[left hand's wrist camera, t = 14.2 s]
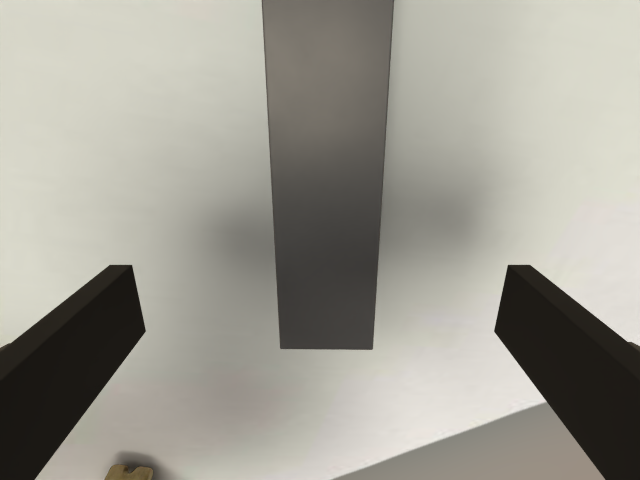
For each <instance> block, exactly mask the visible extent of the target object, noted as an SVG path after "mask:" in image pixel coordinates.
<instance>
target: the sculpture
mask: <svg viewBox="0 0 640 480" xmlns="http://www.w3.org/2000/svg"><path fill="white" fill-rule="evenodd" d="M152 476H153V470H152V468H149V467H137V468H136V469H135V470H134V471H133V472H132V473H130V474H129V467H128V466H126V465H113V466H112V467H111V468H110V470H109V472H108V474H107V476H106V478H105V480H151V478H152Z"/></svg>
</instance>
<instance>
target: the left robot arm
mask: <svg viewBox="0 0 640 480" xmlns="http://www.w3.org/2000/svg"><path fill="white" fill-rule="evenodd" d="M145 332H146V330H145V325H144V320H143V316H142V311H141V306H140V301H139V296H138V292H137V287H136V282H135V277H134V272H133V268H132V265H109V266H108V267H107V268H106V269H104V270H103V271H102V272H100V273H99V274H98V275H97V276H95V277H94V278H93V279H92V280H90V281H89V282H88V283H87V284H85V285H84V286H83V287H81V288H80V289H79V290H78V291H76V292H75V293H74V294H73V295H71V296H70V297H69V298H68V299H66V300H65V301H64V302H62V303H61V304H60V305H59V306H57V307H56V308H55V309H54V310H52V311H51V312H50V313H49V314H47V315H46V316H45V317H43V318H42V319H41V320H40V321H38V322H37V323H36V324H35V325H33V326H32V327H31V328H30V329H28V330H27V331H26V332H24V333H23V334H22V335H21V336H19V337H18V338H17V339H16V340H14V341H13V342H12V343H9V344H7V345H5V346H3V347H1V348H0V480H35V478H36V477H37V476H38V474H39V473H40V472H41V470H42V469H43V468H44V466H45V465H46V464H47V462H48V461H49V460H50V458H51V457H52V456H53V454H54V453H55V452H56V450H57V449H58V448H59V446H60V445H61V444H62V442H63V441H64V440H65V438H66V437H67V436H68V434H69V433H70V432H71V430H72V429H73V428H74V426H75V425H76V424H77V422H78V421H79V420H80V418H81V417H82V416H83V414H84V413H85V412H86V410H87V409H88V408H89V406H90V405H91V404H92V402H93V401H94V400H95V398H96V397H97V396H98V394H99V393H100V392H101V390H102V389H103V388H104V386H105V385H106V384H107V382H108V381H109V380H110V378H111V377H112V376H113V374H114V373H115V372H116V370H117V369H118V368H119V366H120V365H121V364H122V362H123V361H124V360H125V358H126V357H127V356H128V354H129V353H130V352H131V350H132V349H133V348H134V346H135V345H136V344H137V342H138V341H139V340H140V338H141V337H142V336H143V334H144V333H145ZM494 332H495V333H496V334H497V336H498V337H499V338H500V340H501V341H502V342H503V344H504V345H505V346H506V348H507V349H508V350H509V352H510V353H511V354H512V356H513V357H514V358H515V360H516V361H517V362H518V364H519V365H520V366H521V368H522V369H523V370H524V372H525V373H526V374H527V376H528V377H529V378H530V380H531V381H532V382H533V384H534V385H535V386H536V388H537V389H538V390H539V392H540V393H541V394H542V396H543V397H544V398H545V400H546V401H547V402H548V404H549V405H550V406H551V408H552V409H553V410H554V412H555V413H556V414H557V416H558V417H559V418H560V420H561V421H562V422H563V424H564V425H565V426H566V428H567V429H568V430H569V432H570V433H571V434H572V436H573V437H574V438H575V440H576V441H577V442H578V444H579V445H580V446H581V448H582V449H583V450H584V452H585V453H586V454H587V456H588V457H589V458H590V460H591V461H592V462H593V464H594V465H595V466H596V468H597V469H598V470H599V472H600V473H601V474H602V476H603V477H604V478H605V480H640V346H638V345H636V344H634V343H632V342H627V341H626V340H624V339H623V338H622V337H621V336H619V335H618V334H617V333H616V332H614V331H613V330H612V329H610V328H609V327H608V326H607V325H605V324H604V323H603V322H602V321H600V320H599V319H598V318H597V317H595V316H594V315H593V314H591V313H590V312H589V311H588V310H586V309H585V308H584V307H583V306H581V305H580V304H579V303H578V302H576V301H575V300H574V299H572V298H571V297H570V296H569V295H567V294H566V293H565V292H564V291H562V290H561V289H560V288H559V287H557V286H556V285H555V284H553V283H552V282H551V281H550V280H548V279H547V278H546V277H545V276H543V275H542V274H541V273H540V272H538V271H537V270H536V269H534V268H533V267H532V266H531V265H508V268H507V272H506V277H505V282H504V287H503V292H502V296H501V301H500V306H499V311H498V316H497V320H496V325H495V330H494Z"/></svg>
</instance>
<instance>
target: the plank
mask: <svg viewBox="0 0 640 480" xmlns="http://www.w3.org/2000/svg"><path fill="white" fill-rule="evenodd" d="M393 8H394V0H262V13H263V32H264V51H265V70H266V89H267V108H268V126H269V145H270V164H271V183H272V202H273V221H274V240H275V258H276V277H277V296H278V315H279V334H280V348H281V349H352V350H372V349H373V336H374V320H375V304H376V287H377V271H378V254H379V238H380V221H381V205H382V189H383V172H384V156H385V139H386V123H387V107H388V90H389V74H390V57H391V41H392V24H393Z"/></svg>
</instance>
